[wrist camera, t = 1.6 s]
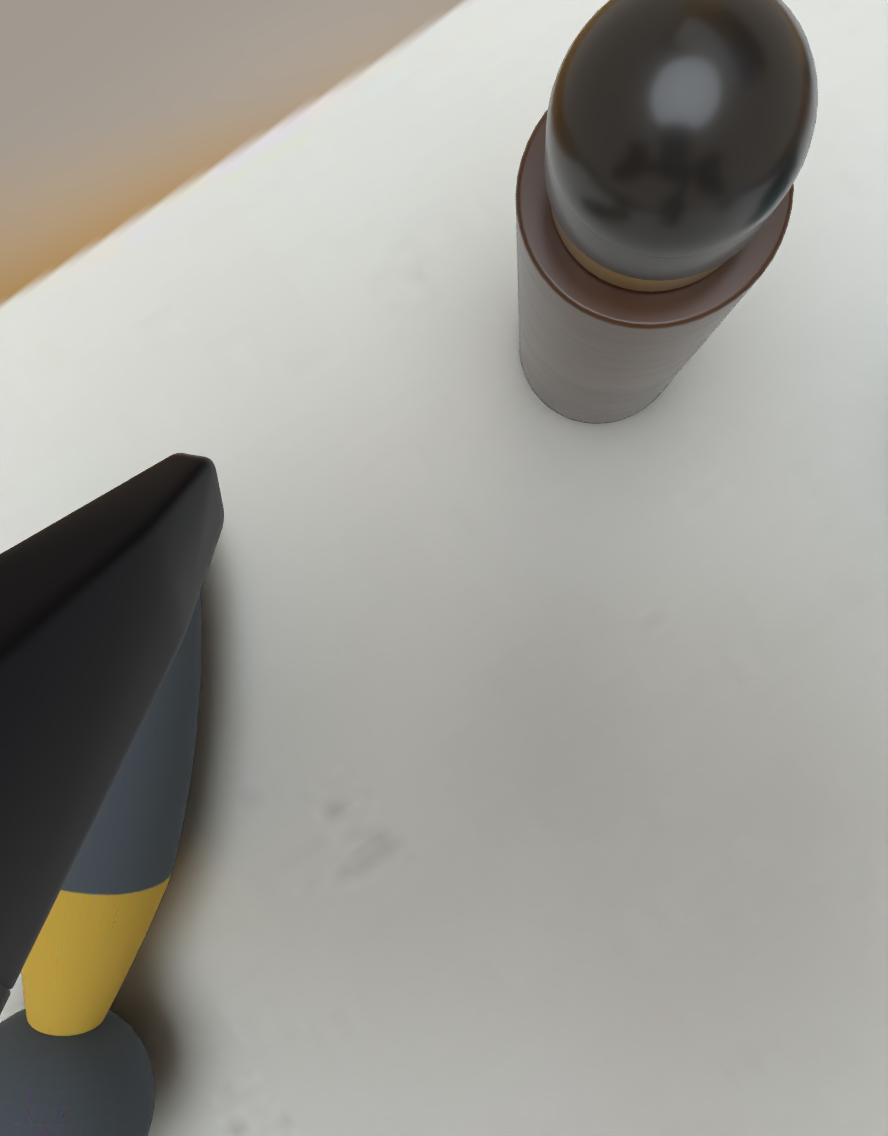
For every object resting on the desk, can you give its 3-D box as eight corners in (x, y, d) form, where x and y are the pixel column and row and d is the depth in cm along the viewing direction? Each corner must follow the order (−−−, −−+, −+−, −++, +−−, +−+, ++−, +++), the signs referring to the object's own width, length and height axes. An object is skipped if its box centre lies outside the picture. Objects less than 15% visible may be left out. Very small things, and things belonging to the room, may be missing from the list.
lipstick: (694, 401, 21) (946, 178, 8) (539, 440, 21) (561, 284, 9) (657, 248, 21) (852, -202, 8) (503, 290, 21) (473, -80, 9)
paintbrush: (57, 501, 22) (-76, 487, 17) (234, 518, 22) (148, 509, 17) (0, 1203, 23) (-144, 1385, 18) (170, 1234, 23) (70, 1429, 18)
